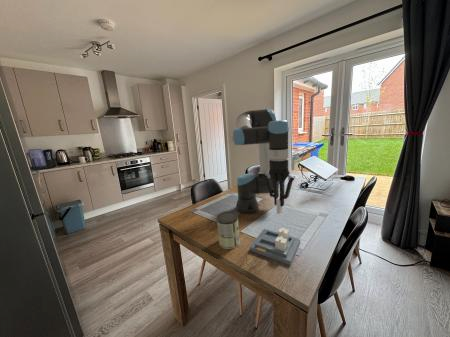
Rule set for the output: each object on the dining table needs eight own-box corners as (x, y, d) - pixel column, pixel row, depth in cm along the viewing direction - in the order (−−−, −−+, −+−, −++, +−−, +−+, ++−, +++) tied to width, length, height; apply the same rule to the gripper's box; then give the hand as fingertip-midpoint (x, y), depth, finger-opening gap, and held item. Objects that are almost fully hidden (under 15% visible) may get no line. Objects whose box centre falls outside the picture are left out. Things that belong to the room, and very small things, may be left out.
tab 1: (278, 240, 84) (278, 229, 83) (280, 237, 86) (280, 226, 85) (287, 243, 82) (287, 232, 80) (289, 239, 84) (289, 228, 83)
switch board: (249, 250, 82) (249, 244, 81) (263, 232, 95) (263, 226, 94) (290, 265, 72) (290, 258, 71) (300, 242, 85) (300, 236, 84)
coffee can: (218, 237, 94) (216, 212, 91) (238, 235, 94) (236, 210, 91) (218, 250, 84) (216, 223, 81) (241, 248, 84) (239, 221, 81)
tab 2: (275, 250, 78) (275, 238, 77) (277, 246, 80) (277, 234, 79) (284, 253, 76) (284, 241, 74) (286, 249, 78) (286, 237, 77)
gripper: (260, 160, 75) (261, 212, 80) (292, 161, 68) (292, 219, 73) (267, 157, 81) (268, 206, 86) (297, 158, 73) (297, 211, 79)
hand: (279, 212), depth 79 cm, fingers closed
